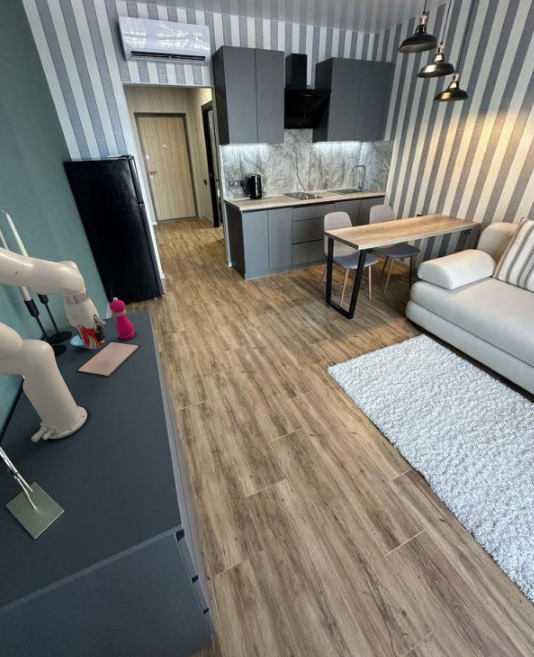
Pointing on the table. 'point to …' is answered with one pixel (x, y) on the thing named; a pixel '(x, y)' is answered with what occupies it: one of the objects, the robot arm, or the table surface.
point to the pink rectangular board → (108, 358)
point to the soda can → (89, 337)
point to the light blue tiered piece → (77, 342)
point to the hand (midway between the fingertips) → (92, 338)
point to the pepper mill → (122, 320)
